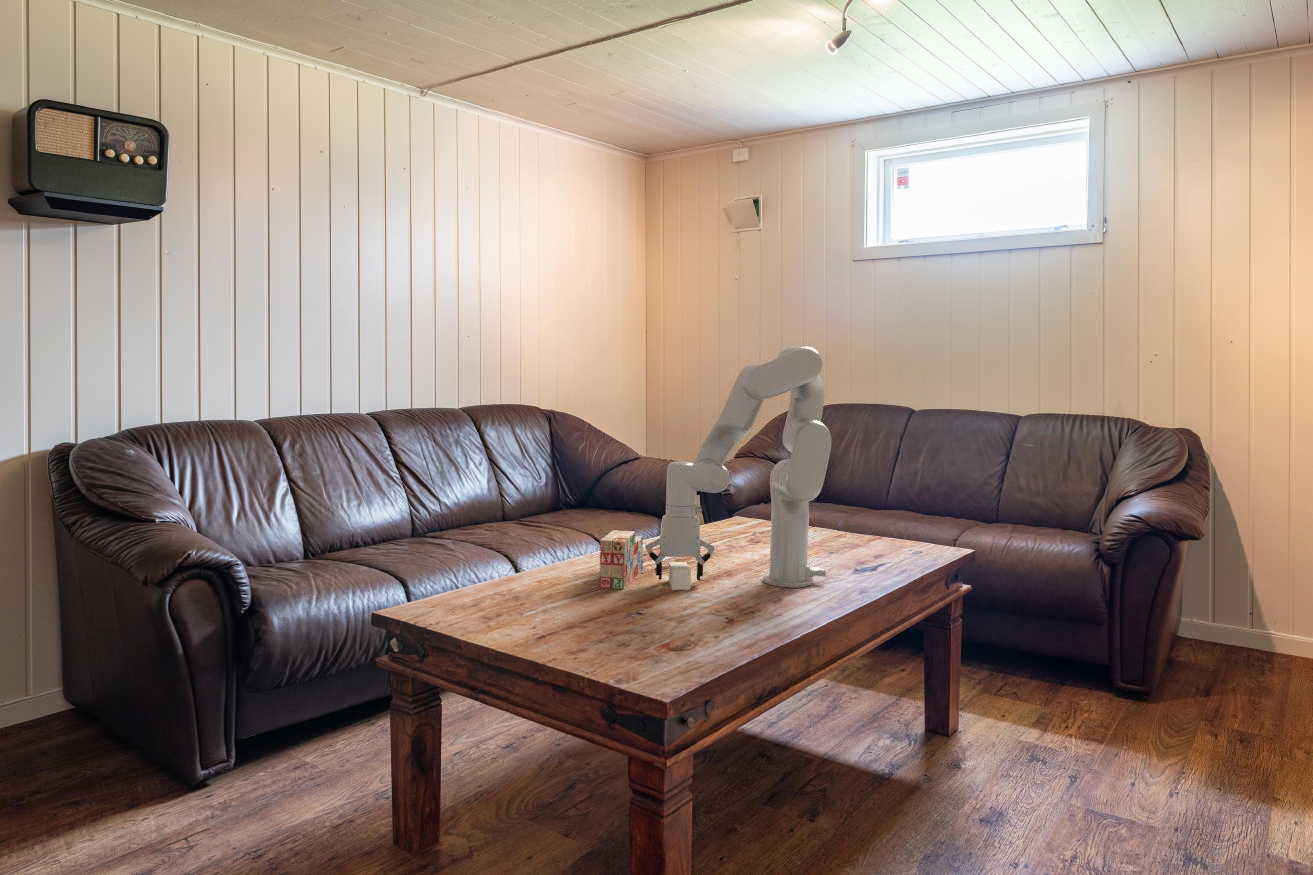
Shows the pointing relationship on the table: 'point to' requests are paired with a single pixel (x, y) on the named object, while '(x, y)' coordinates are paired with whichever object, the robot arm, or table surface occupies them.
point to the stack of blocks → (620, 559)
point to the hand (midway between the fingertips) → (679, 578)
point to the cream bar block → (679, 576)
